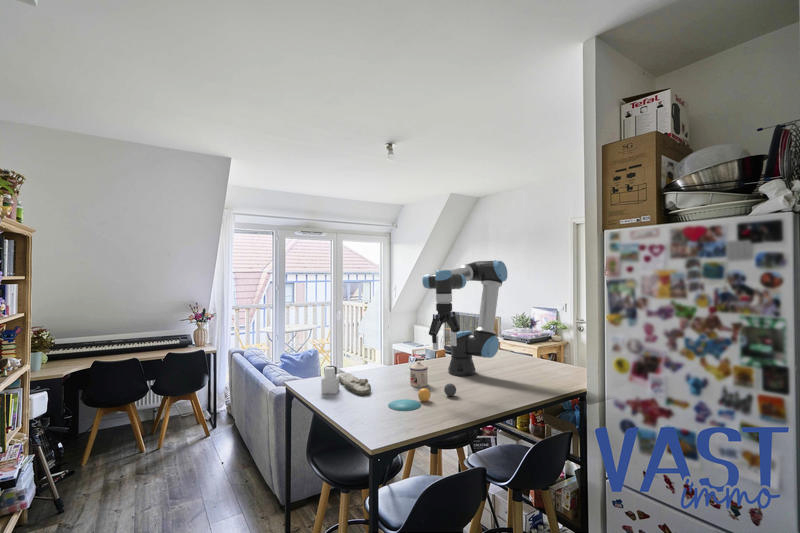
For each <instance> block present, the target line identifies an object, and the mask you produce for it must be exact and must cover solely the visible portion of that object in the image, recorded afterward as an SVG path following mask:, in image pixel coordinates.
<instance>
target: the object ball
mask: <svg viewBox="0 0 800 533" xmlns="http://www.w3.org/2000/svg"><path fill="white" fill-rule="evenodd" d="M417 396H418V399H419V400H420V401H421V402H427V401H429V400H430V398H431V391H430V390H429V389H428V388H425V387H423V388H422V387H421V389H419V390H418V392H417Z"/></svg>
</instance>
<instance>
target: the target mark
mask: <svg viewBox="0 0 800 533" xmlns="http://www.w3.org/2000/svg"><path fill="white" fill-rule="evenodd" d="M387 406H388V408H389V409H391V410H393V411H394V410H395V411H399V412H400V411H401V412H407V411H409V412H410V411H415V410H418V409H420V408H421V406H422V403H421V402H419V401H418V400H415V399H409V398H408V399H407V398H406V399H405V398H403V399H395V400H392V401H390V402H388V405H387Z"/></svg>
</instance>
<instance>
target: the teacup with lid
mask: <svg viewBox="0 0 800 533" xmlns="http://www.w3.org/2000/svg"><path fill="white" fill-rule="evenodd" d="M428 369H429V368H428V365H426V364H424V363H421V361H419V360H417V361H416V363H415V364H412V365H410V367H409V372H410V373H409V374H410V381H409V382H410V386H412V387H415V388H422V387H423V388H425V387H427V386H428Z"/></svg>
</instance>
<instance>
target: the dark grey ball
mask: <svg viewBox="0 0 800 533" xmlns="http://www.w3.org/2000/svg"><path fill="white" fill-rule="evenodd" d="M443 391H444V393H445V395H447V396H448V397H453V396H455V394H456V393H457V387H456V385H455V384H453V383H447V384H446V385H445V386H444V388H443Z"/></svg>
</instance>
